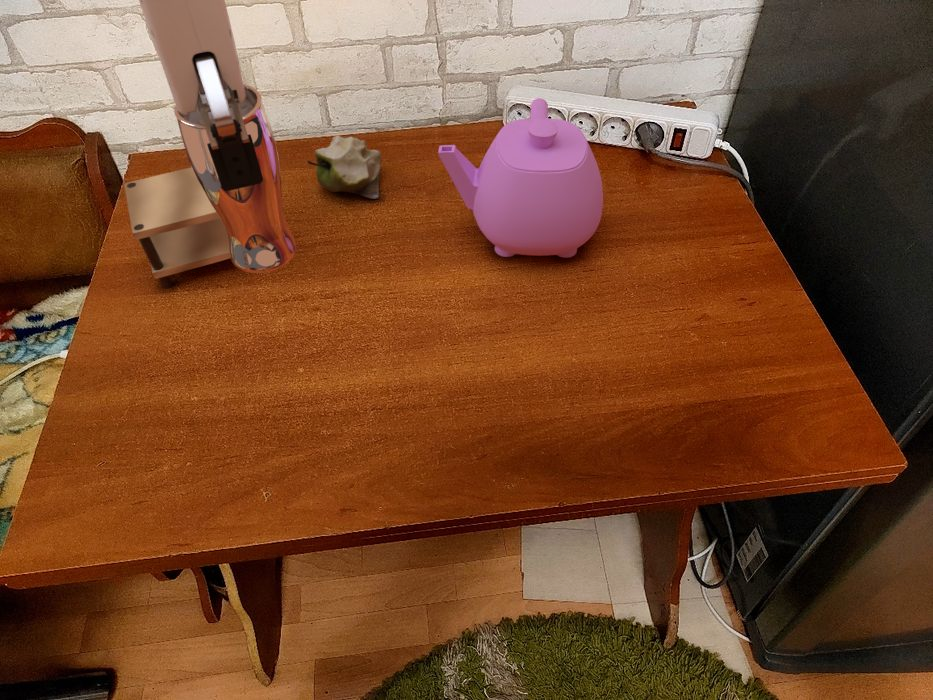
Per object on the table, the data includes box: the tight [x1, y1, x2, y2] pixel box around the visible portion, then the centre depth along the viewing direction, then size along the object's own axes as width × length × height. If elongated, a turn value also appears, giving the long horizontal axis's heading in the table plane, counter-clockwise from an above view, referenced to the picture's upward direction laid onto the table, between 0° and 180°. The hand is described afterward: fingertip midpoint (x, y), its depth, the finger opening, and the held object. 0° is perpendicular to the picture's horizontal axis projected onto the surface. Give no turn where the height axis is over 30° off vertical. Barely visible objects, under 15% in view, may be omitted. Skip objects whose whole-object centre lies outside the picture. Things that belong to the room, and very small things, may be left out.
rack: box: [123, 166, 231, 289], centre depth 83 cm, size 12×10×9 cm
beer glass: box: [173, 83, 297, 274], centre depth 58 cm, size 7×7×15 cm
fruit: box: [307, 135, 382, 200], centre depth 93 cm, size 9×9×8 cm
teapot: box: [437, 97, 604, 259], centre depth 84 cm, size 20×20×15 cm
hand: (234, 157), depth 56 cm, fingers closed on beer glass, 7 cm apart
